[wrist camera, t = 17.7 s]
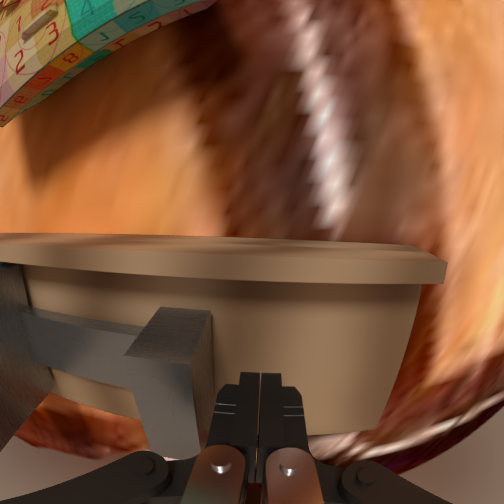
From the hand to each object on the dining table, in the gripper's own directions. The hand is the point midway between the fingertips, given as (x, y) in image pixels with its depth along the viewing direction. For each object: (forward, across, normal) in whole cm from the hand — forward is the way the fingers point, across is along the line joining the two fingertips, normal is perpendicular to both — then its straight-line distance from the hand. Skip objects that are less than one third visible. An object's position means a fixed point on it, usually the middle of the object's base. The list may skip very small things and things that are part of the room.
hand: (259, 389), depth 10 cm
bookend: (+1, +8, 0) cm, 8 cm away
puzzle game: (+3, +10, -22) cm, 25 cm away
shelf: (+3, +7, 0) cm, 7 cm away
